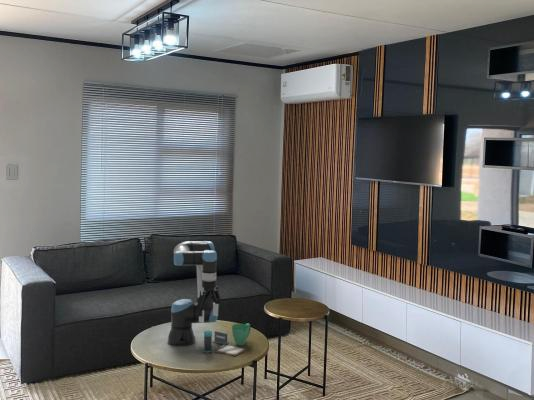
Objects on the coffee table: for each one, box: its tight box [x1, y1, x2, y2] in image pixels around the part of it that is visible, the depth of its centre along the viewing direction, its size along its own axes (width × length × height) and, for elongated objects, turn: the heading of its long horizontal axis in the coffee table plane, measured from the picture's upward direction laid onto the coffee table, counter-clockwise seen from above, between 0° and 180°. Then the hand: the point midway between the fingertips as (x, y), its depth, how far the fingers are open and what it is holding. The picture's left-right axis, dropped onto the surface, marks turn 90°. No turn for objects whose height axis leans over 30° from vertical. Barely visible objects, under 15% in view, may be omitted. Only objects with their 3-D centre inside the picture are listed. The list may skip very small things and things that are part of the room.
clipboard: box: [214, 344, 247, 358], centre depth 309 cm, size 13×11×1 cm
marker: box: [203, 330, 213, 355], centre depth 306 cm, size 4×4×11 cm
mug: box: [231, 323, 252, 346], centre depth 322 cm, size 15×10×10 cm
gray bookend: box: [212, 330, 230, 345], centre depth 321 cm, size 8×3×6 cm, turn 62°
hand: (208, 318), depth 304 cm, fingers open, 13 cm apart
